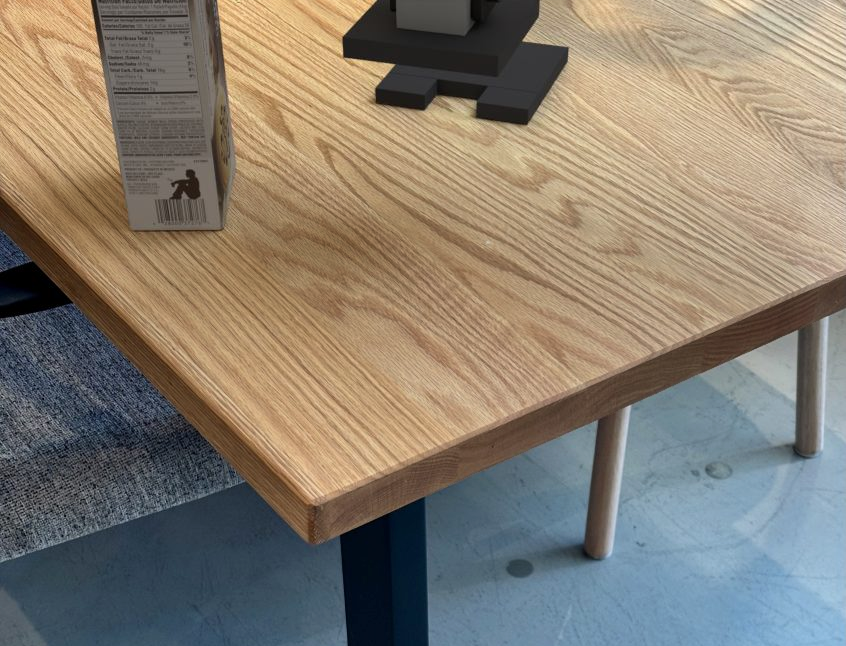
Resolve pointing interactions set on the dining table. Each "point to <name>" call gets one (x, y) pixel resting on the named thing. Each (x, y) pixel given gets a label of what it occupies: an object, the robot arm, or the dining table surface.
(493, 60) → the grey post on plate
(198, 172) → the coffee box
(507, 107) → the base pad
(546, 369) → the dining table surface
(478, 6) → the robot arm
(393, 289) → the dining table surface
